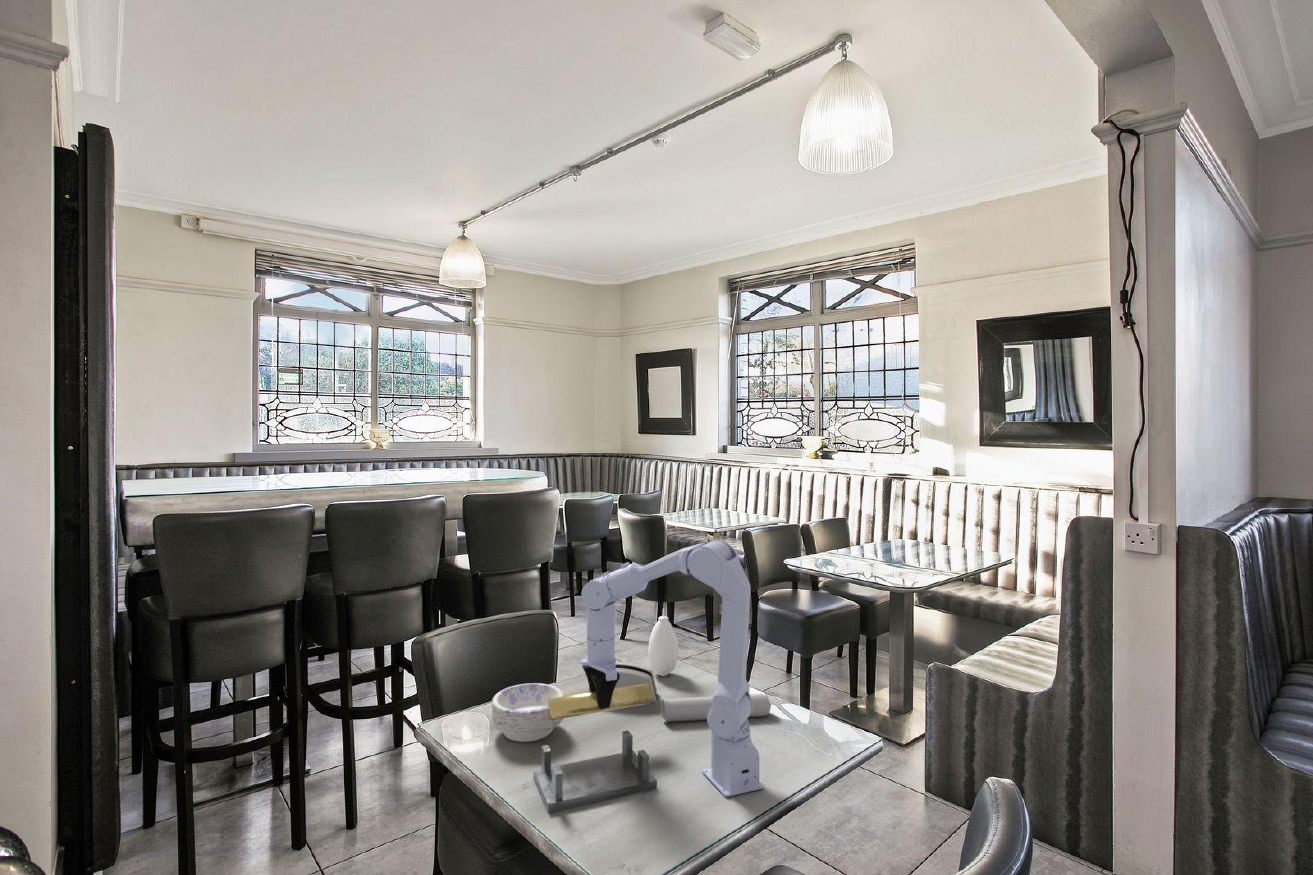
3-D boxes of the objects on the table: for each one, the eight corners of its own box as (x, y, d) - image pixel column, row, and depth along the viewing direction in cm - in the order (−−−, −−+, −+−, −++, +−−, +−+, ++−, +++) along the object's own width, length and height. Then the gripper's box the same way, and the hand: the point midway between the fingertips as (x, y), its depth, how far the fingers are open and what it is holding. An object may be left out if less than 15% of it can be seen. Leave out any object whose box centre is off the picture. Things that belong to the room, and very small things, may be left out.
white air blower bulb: (644, 671, 178) (644, 604, 178) (671, 668, 181) (671, 602, 181) (654, 681, 171) (654, 612, 171) (682, 678, 174) (682, 609, 174)
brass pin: (644, 699, 141) (644, 680, 141) (652, 706, 137) (652, 687, 137) (547, 715, 133) (547, 695, 133) (552, 723, 129) (552, 703, 129)
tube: (765, 691, 156) (660, 697, 152) (773, 693, 151) (664, 698, 147) (767, 716, 154) (661, 722, 150) (775, 718, 149) (665, 725, 145)
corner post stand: (657, 788, 120) (657, 755, 120) (548, 812, 113) (548, 777, 112) (633, 758, 131) (633, 728, 131) (533, 778, 124) (533, 746, 124)
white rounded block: (658, 693, 164) (656, 660, 160) (655, 707, 159) (653, 673, 156) (592, 689, 166) (589, 656, 163) (588, 702, 162) (584, 669, 158)
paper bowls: (509, 757, 132) (509, 717, 132) (481, 729, 144) (481, 692, 144) (577, 736, 141) (577, 699, 141) (544, 711, 153) (544, 677, 153)
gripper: (572, 629, 140) (571, 693, 140) (592, 650, 126) (592, 721, 127) (604, 625, 143) (603, 688, 143) (627, 645, 129) (626, 715, 129)
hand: (600, 703), depth 135 cm, fingers closed on brass pin, 4 cm apart
